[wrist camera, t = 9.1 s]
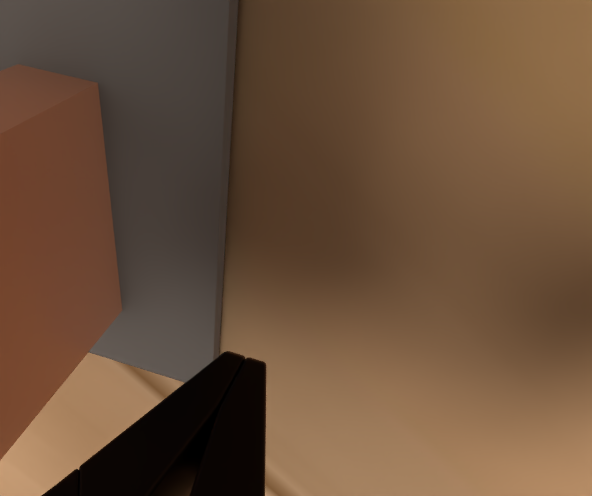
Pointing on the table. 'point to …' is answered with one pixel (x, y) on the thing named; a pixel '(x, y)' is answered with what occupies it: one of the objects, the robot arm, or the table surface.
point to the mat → (151, 156)
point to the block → (50, 238)
